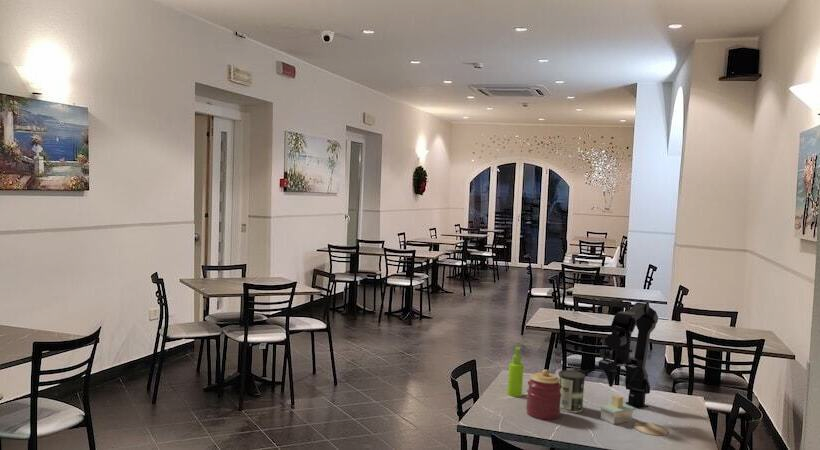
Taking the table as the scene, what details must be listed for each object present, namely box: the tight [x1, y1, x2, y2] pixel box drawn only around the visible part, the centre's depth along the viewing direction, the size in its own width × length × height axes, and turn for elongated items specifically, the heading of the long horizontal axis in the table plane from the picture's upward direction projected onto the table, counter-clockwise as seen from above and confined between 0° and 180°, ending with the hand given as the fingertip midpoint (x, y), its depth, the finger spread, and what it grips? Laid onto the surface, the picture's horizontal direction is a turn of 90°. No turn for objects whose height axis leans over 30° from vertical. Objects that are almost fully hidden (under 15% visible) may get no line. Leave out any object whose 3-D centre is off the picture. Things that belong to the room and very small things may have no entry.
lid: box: [599, 394, 636, 414], centre depth 245 cm, size 11×8×6 cm
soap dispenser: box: [507, 346, 525, 398], centre depth 270 cm, size 6×7×20 cm
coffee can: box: [558, 369, 586, 414], centre depth 256 cm, size 10×10×14 cm
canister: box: [525, 369, 562, 420], centre depth 247 cm, size 13×13×18 cm
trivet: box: [633, 421, 669, 437], centre depth 238 cm, size 12×12×1 cm
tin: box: [600, 408, 634, 426], centre depth 246 cm, size 10×6×4 cm, turn 120°
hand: (619, 385), depth 247 cm, fingers open, 9 cm apart
